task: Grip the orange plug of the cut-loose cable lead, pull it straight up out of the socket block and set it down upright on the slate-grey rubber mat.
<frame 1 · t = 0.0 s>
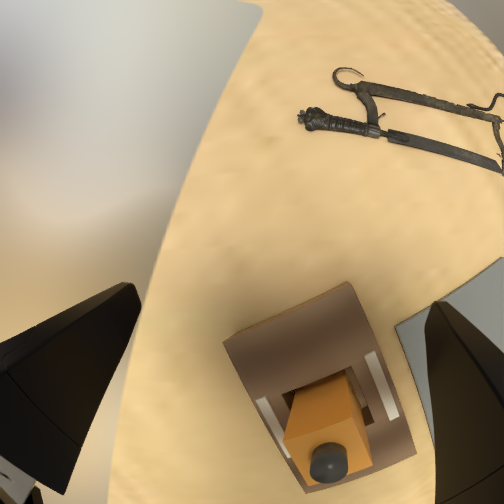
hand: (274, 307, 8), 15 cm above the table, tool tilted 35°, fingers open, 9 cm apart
plug: (329, 424, 16), in the socket block
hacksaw: (427, 108, 21), on the table
mat: (476, 368, 18), on the table
socket block: (329, 394, 21), on the table
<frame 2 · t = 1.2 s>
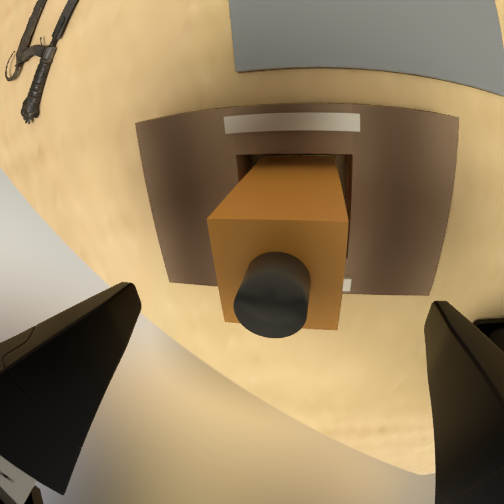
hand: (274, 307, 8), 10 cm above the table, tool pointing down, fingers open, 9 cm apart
plug: (290, 227, 12), in the socket block
socket block: (299, 189, 16), on the table
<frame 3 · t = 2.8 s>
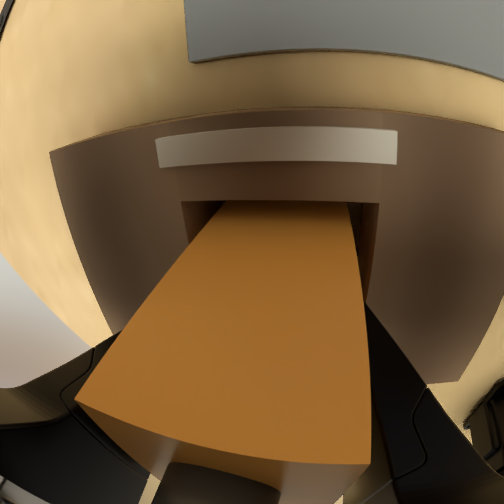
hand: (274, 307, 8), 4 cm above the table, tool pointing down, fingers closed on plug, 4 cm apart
plug: (265, 338, 7), in the socket block, touching gripper
socket block: (290, 239, 11), on the table
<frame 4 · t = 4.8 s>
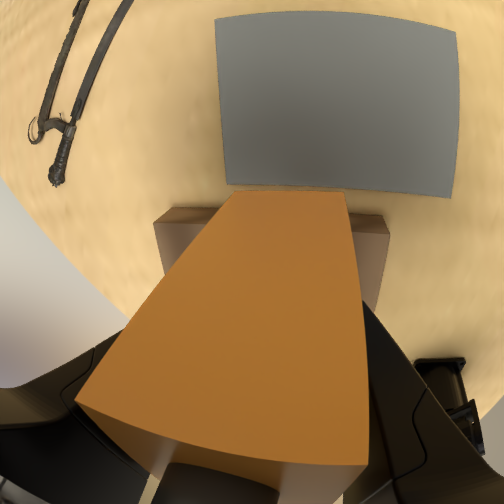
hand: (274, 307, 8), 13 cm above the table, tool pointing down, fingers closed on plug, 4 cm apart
plug: (265, 339, 7), point 14 cm above the table, touching gripper
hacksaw: (68, 61, 18), on the table
mat: (344, 97, 16), on the table
socket block: (272, 268, 23), on the table
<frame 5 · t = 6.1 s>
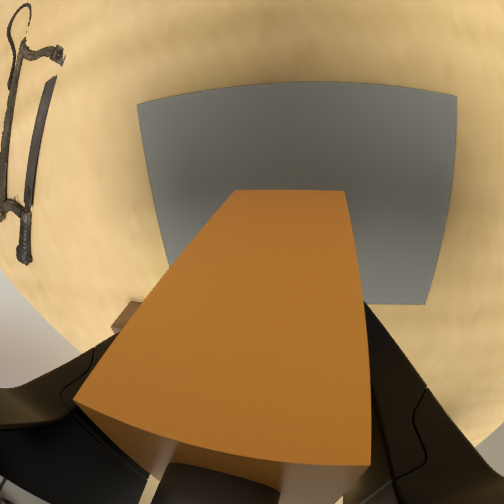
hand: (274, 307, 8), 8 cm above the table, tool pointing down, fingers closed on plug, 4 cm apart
plug: (265, 339, 7), point 9 cm above the table, touching gripper
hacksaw: (13, 140, 17), on the table
mat: (297, 201, 15), on the table
socket block: (234, 359, 22), on the table
when the fingers open (6 cm above the table, at t = 7.2 s): plug drops 1 cm, resting on mat.
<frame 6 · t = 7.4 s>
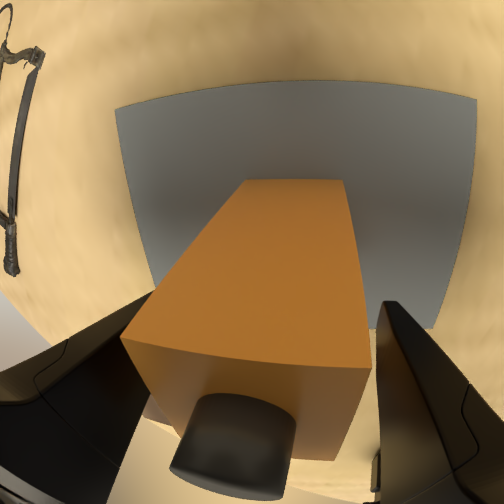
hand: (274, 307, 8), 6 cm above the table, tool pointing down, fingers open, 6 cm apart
plug: (276, 301, 8), on the mat
mat: (294, 218, 13), on the table
socket block: (227, 380, 20), on the table
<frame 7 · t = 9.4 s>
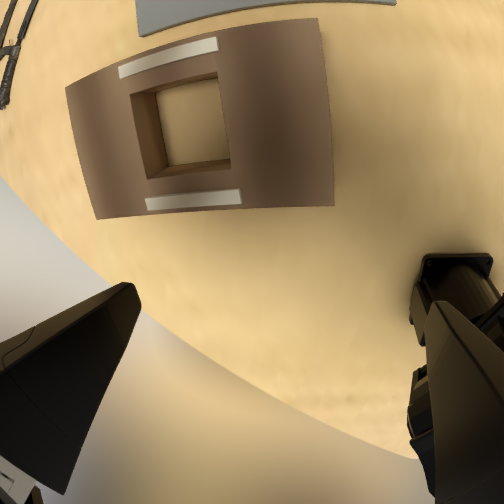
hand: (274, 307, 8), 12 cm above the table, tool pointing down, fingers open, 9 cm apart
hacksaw: (20, 0, 12), on the table
socket block: (197, 122, 17), on the table
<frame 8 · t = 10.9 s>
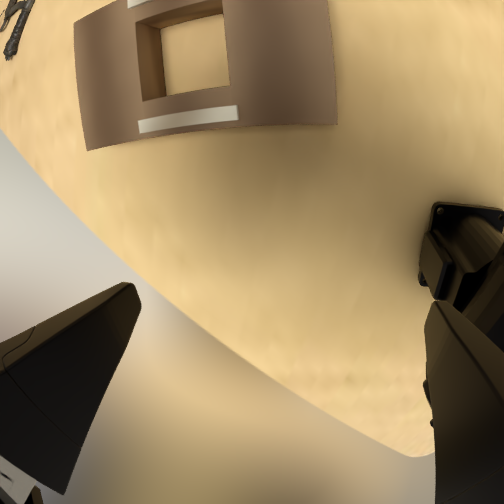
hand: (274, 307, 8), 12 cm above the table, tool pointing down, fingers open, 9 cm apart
socket block: (199, 54, 15), on the table
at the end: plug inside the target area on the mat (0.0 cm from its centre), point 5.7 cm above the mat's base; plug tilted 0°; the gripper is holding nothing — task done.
